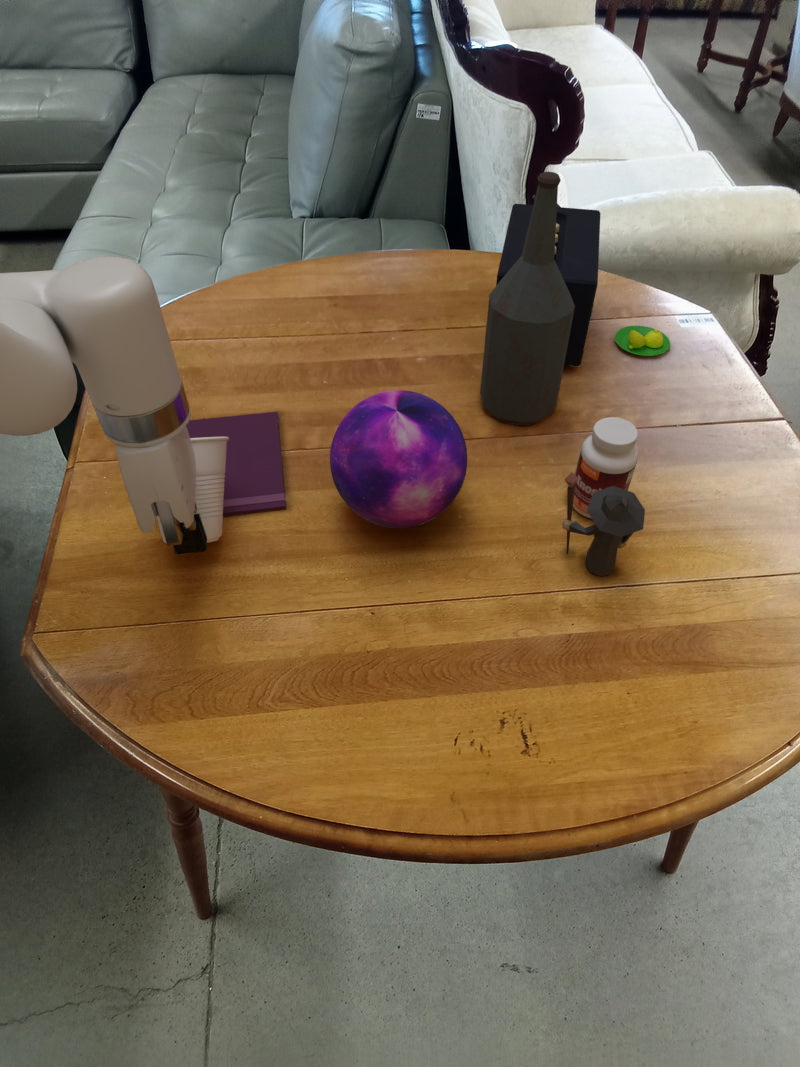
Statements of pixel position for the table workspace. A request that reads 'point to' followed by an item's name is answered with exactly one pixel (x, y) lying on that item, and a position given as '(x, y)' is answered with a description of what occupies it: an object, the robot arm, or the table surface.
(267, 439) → the book
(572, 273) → the speaker
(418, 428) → the decorative orb
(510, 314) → the bottle
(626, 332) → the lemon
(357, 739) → the table surface
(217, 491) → the cup
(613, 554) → the wizard figurine
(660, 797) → the table surface
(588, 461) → the pill bottle
